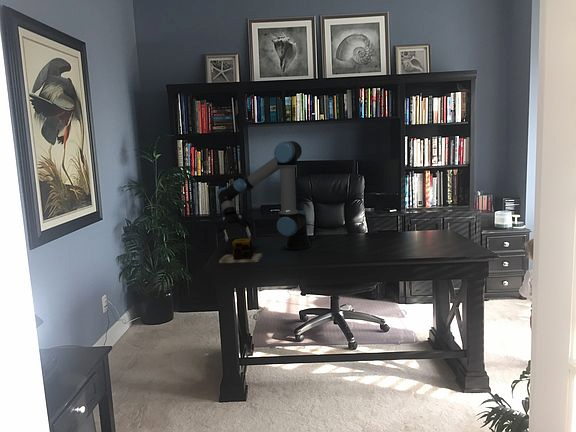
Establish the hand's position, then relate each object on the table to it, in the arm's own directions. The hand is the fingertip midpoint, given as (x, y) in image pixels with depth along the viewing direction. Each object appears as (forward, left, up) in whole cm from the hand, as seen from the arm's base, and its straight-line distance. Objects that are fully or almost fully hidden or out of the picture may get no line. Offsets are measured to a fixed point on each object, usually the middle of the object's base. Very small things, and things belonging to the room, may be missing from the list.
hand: (238, 238), depth 284 cm
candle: (-3, +4, -10) cm, 12 cm away
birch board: (-1, +2, -12) cm, 12 cm away
